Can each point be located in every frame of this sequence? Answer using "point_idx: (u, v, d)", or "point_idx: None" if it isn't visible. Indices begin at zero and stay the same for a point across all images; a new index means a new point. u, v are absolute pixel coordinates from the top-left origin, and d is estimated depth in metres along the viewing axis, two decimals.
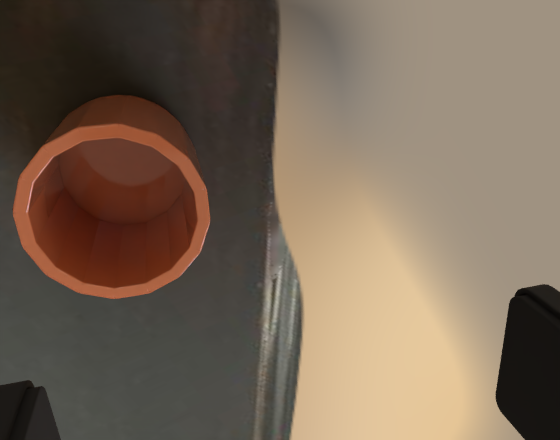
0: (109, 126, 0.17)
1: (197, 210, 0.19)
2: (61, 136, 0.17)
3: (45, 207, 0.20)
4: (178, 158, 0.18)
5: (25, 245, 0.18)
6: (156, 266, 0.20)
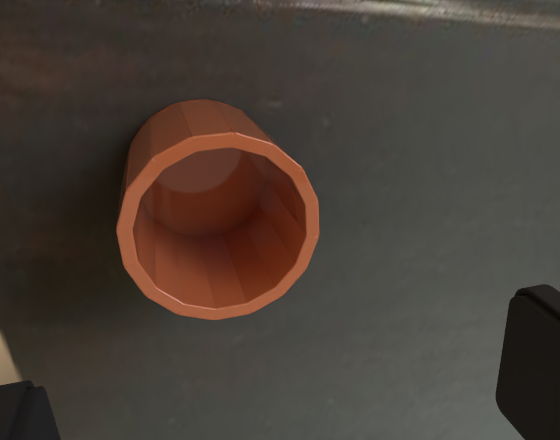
0: (120, 238, 0.16)
1: (219, 147, 0.16)
2: (134, 280, 0.17)
3: (224, 274, 0.20)
4: (153, 169, 0.15)
5: (248, 311, 0.18)
6: (292, 185, 0.18)
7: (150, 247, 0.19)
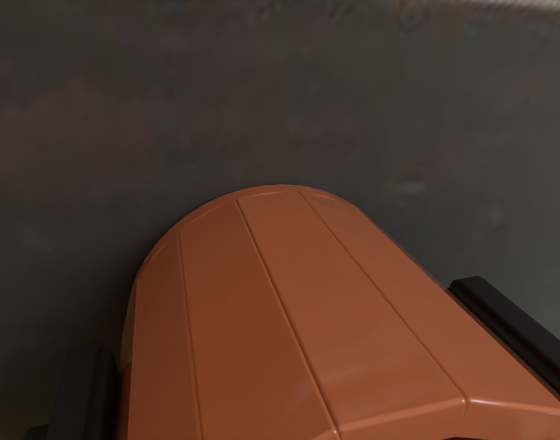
0: None
1: None
2: None
3: None
4: None
5: None
6: None
7: None
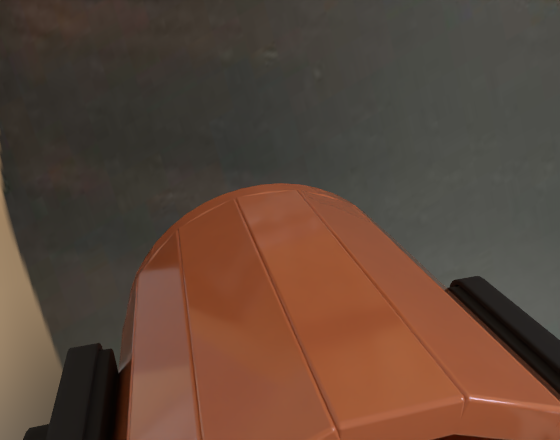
0: None
1: None
2: None
3: None
4: None
5: None
6: None
7: None
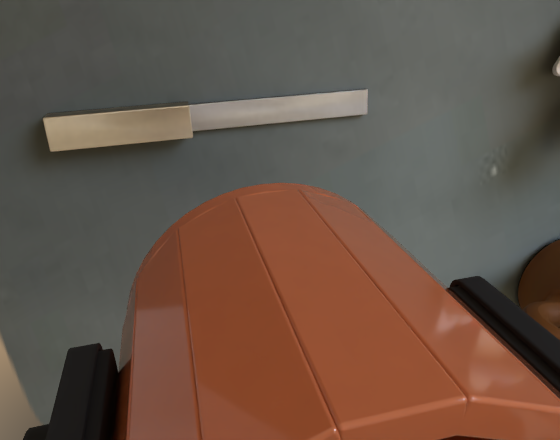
0: None
1: None
2: None
3: None
4: None
5: None
6: None
7: None
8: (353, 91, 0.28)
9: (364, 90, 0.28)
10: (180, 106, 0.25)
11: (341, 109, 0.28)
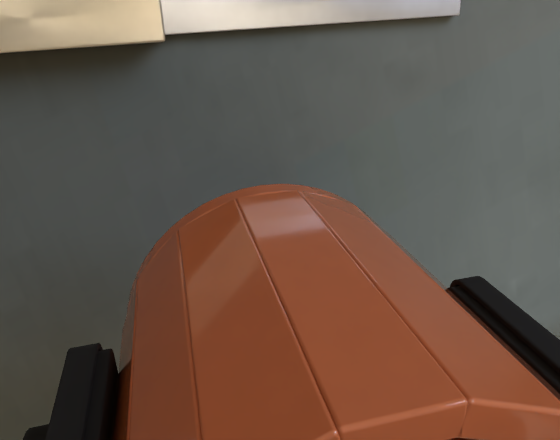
0: None
1: None
2: None
3: None
4: None
5: None
6: None
7: None
8: None
9: None
10: None
11: (418, 4, 0.17)
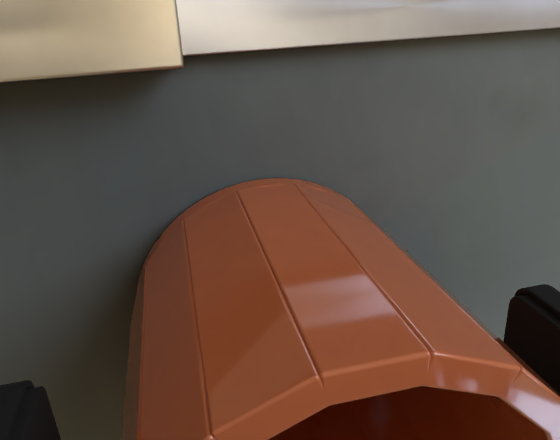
0: None
1: (389, 392, 0.06)
2: None
3: None
4: None
5: None
6: (513, 415, 0.08)
7: None
8: None
9: None
10: None
11: (545, 10, 0.12)
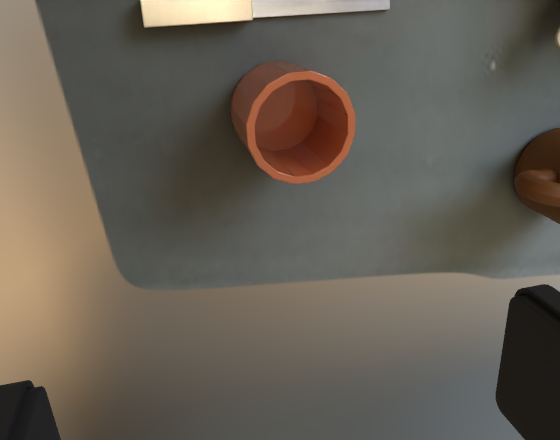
0: (247, 129, 0.29)
1: (303, 79, 0.29)
2: (252, 155, 0.30)
3: (295, 165, 0.33)
4: (268, 90, 0.29)
5: (313, 179, 0.32)
6: (339, 105, 0.31)
7: None
8: None
9: None
10: None
11: (369, 4, 0.35)
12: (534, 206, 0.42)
